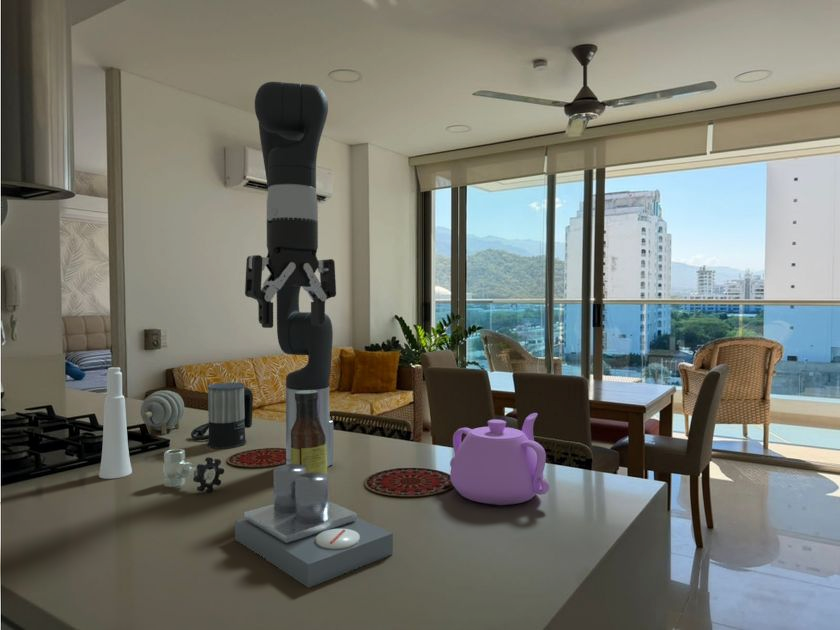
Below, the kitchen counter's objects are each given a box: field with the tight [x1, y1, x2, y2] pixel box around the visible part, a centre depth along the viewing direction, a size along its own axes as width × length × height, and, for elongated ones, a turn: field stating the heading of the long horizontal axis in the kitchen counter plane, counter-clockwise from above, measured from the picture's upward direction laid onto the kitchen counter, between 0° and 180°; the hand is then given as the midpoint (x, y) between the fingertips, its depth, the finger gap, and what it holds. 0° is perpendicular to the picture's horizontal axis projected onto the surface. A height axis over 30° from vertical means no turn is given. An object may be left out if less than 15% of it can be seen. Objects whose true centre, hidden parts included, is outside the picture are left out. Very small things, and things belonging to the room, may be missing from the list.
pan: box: [243, 500, 358, 543], centre depth 87 cm, size 12×12×1 cm
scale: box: [234, 517, 394, 589], centre depth 85 cm, size 14×20×4 cm
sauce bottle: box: [291, 390, 328, 475], centre depth 103 cm, size 7×6×20 cm
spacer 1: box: [273, 464, 306, 513], centre depth 89 cm, size 5×5×6 cm
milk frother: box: [190, 382, 254, 449], centre depth 147 cm, size 14×16×15 cm
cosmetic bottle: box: [98, 366, 133, 480], centre depth 119 cm, size 6×6×22 cm
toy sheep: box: [140, 390, 185, 436], centre depth 157 cm, size 11×17×11 cm, turn 1°
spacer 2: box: [295, 472, 330, 524], centre depth 85 cm, size 5×5×6 cm
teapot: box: [449, 412, 550, 506], centre depth 110 cm, size 22×22×14 cm
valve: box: [162, 448, 225, 494], centre depth 112 cm, size 7×7×12 cm
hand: (292, 326), depth 88 cm, fingers open, 8 cm apart
